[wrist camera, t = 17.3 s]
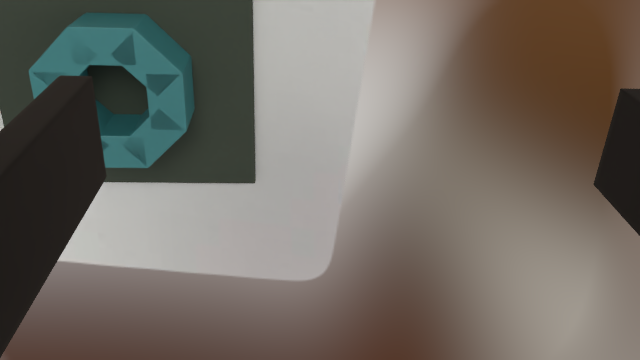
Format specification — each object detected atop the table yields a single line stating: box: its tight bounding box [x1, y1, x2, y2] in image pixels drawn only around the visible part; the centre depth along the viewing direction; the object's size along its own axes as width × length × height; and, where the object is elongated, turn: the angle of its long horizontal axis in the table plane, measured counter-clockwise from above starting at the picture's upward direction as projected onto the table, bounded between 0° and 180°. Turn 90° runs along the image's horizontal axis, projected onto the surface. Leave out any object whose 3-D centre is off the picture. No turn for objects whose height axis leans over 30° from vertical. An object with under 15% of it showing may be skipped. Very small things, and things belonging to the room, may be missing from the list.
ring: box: [29, 13, 195, 168], centre depth 41 cm, size 10×10×4 cm
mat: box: [0, 0, 255, 183], centre depth 43 cm, size 18×16×1 cm
